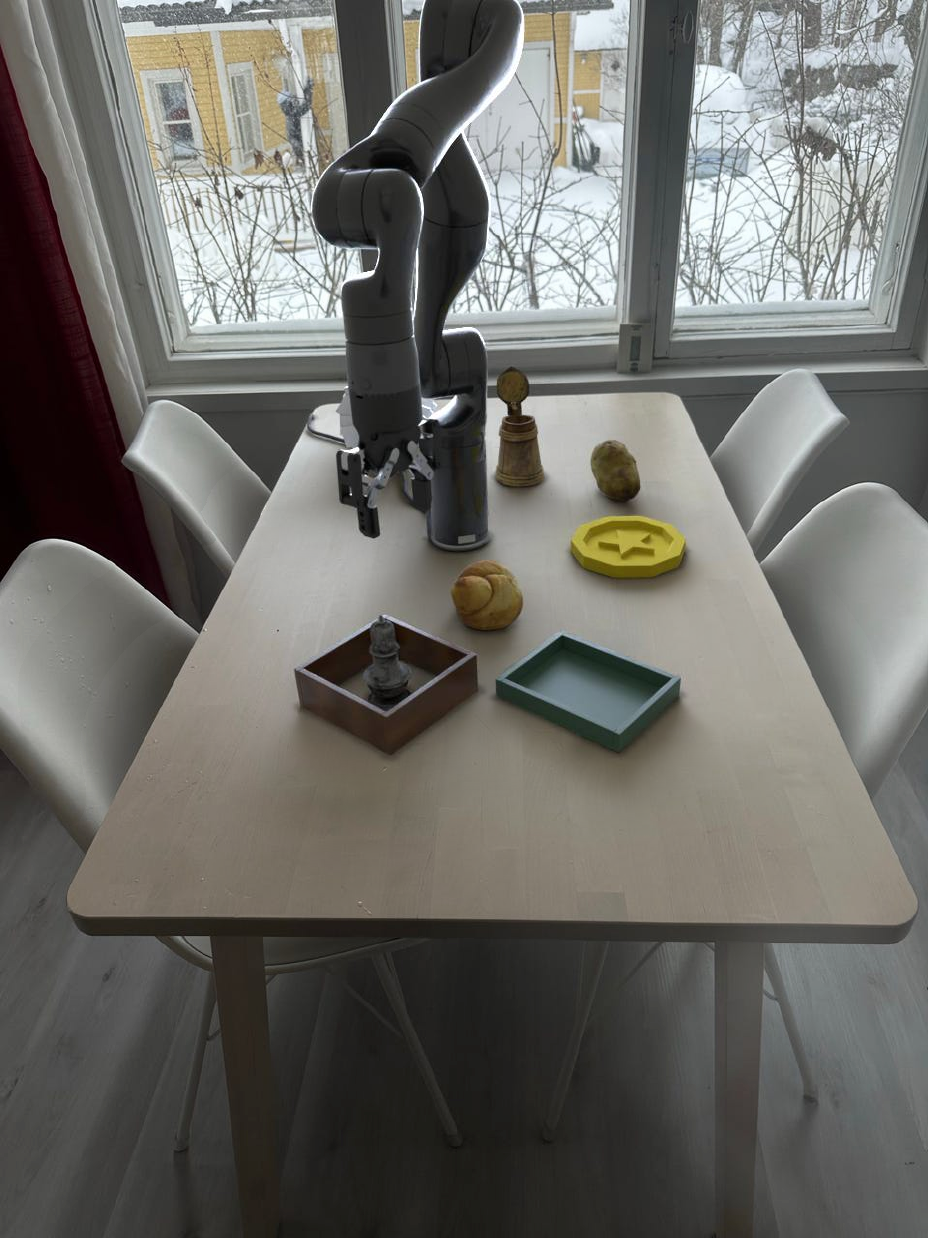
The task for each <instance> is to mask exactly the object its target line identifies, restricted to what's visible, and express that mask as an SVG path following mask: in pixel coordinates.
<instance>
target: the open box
mask: <svg viewBox="0 0 928 1238" xmlns="http://www.w3.org/2000/svg"><path fill="white" fill-rule="evenodd" d="M382 616H383V617H384V619H383V620H388V621H390V622H391V623H392V624H393V625H394V629H395V640H396V643H398V645H399V647H400V648H399V651H398V652H397V653H398V659H399V660H401V661H404V662H406V663H407V664H408V663H409V664H410V665H413V666H415V667H417V668H420V669H421V670H424V671H426V672H427V673H429V674H431V675H434V676H435V677H434V678H433V679H431V680H430V681H429V682H427V683H426V684H424V685H422V686H421V687H420V688H418V689H417V690H416V691H414V692H413V693H410V694H411V695H410V696H408V697H407V698H406V699H404V700H403V701H401V702H400V703H398V704H397V705H396V706H394V707H393V708H391V709H390V710H388V711H384V710H382V709H380V708H378V707H376V706H374V705H372V704H370V703H369V701H368V700H364V699H362V698H361V697H359V696H357V695H355V694H353V693H351V692H349V691H347V690H346V689H343V688H342V687H340V685H342V684H344V683H345V682H346V681H348V680H350V679H352V678H353V677H355V676H356V675H358V674H359V673H361V672H363V671H365V670H366V669H367V668H369V667H370V666H371V665H373V657H372V654H371V653H370V652H369V648H370V646H371V645H372V643H371V634H370V627H371V625H372V624H373V623H374V622H375V621H377V620H379V619H378V618H376V619H375V620H373V621H371V622H370V623H368V624H366V625H365V626H363V627H361V628H360V629H358V630H356V631H355V632H352V633H351V634H350V635H348V636H346V637H345V638H343V639H341V640H339V641H338V642H337V643H334V644H333V645H332V646H330V647H328V648H326V649H324V650H322V651H321V652H320V653H318V654H316V655H314V656H313V657H311V658H309V659H308V660H306V661H305V662H303V663H301V664H300V665H298V666H296V667H295V668H293V672H294V673H293V674H294V678H295V683H296V690H297V695H298V696H297V697H298V702H299V706H300V707H302V708H303V709H305V710H307V711H309V712H311V713H313V714H315V715H317V716H318V717H320V718H322V719H324V720H325V721H327V722H329V723H331V724H333V725H335V726H336V727H338V728H340V729H341V730H344V731H345V732H347V733H349V734H351V735H353V736H354V737H356V738H358V739H359V740H361V741H363V742H365V743H366V744H369V745H371V746H372V747H374V748H376V749H378V750H379V751H381V752H383V753H385V754H387V755H388V756H390V757H391V756H393V755H394V754H395V753H397V752H398V751H400V750H401V749H402V748H403V747H405V746H406V745H408V744H409V743H410V742H412V741H413V740H414V739H416V738H417V737H418V736H420V735H422V733H424V732H425V731H426V730H428V729H429V728H431V727H432V726H433V725H434V724H436V723H438V722H439V721H440V720H441V719H443V718H444V717H445V716H447V715H448V714H449V713H450V712H452V711H453V710H455V709H456V708H457V707H459V706H461V704H463V703H464V702H465V701H467V700H468V699H469V698H471V697H472V696H473V695H475V694H476V693H477V692H479V673H478V653H476V652H473V651H470V650H468V649H466V648H463V647H461V646H460V645H457V644H455V643H452V642H450V641H447V640H445V639H443V638H441V637H439V636H437V635H434V634H432V633H429V632H427V631H425V630H422V629H421V628H417V627H415V626H414V625H411V624H410V623H409V624H408V623H406V622H404V621H403V620H400V619H398V618H396V617H392V616H390V615H388V614H383V615H382Z"/></svg>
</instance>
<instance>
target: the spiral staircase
mask: <svg viewBox="0 0 928 1238" xmlns="http://www.w3.org/2000/svg"><path fill="white" fill-rule="evenodd" d="M343 391H344V394H343V395H342V398H343V399H342V400H341V401H340V403H339V404H338V406H337V408H336V410H335V412H336V413H337V414H339V435H340V436H342V439H344V441H345V443H344V444H345V446H346V448H351V449H355V448H357V446H358V442H359V434H358V432H357V430H356V428H355V427H354V425H353V423H352V414H351V406H350V397H349V388H348V385H347V386H345V387H343ZM421 399H422V413H423V417H428V418H429V417H430V416H432V415H433V414H435V412H434V410H435V409H436V408H437V407H438V405H437V403H436V402H435V399H425V398H422V397H421ZM417 446H418V447H419V443H418V445H417Z"/></svg>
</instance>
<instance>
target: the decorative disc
mask: <svg viewBox="0 0 928 1238" xmlns="http://www.w3.org/2000/svg"><path fill="white" fill-rule="evenodd" d="M686 545H687V538H686V537H685V536H684V535H682V534H681V532H679V531H678V529H676V528H675V527H674V525H673V524H671V523H668V522H664V521H661V520H657V519H654V518H650V517H647V516H642V515H609V516H607V515H606V516H603V517H601V518H598V519H595V520H592V521H589V522H586V523H584V524H583V523H582V524H580V525H579V527H578V528H577V530H576V532H575V533H574V535H573V536H572V538H571V540H570V552H571V554H572V555H573V557H574V558H575V559H576V560H577V562H578V563H579V564H580V566H581V567H582V568H583V569H587V570H590V571H593V572H596V573H599V574H601V575H605V576H608V577H611V578H614V579H615V578H616V579H617V578H619V579H620V578H654V577H655V576H659V575H661V574H664V573H666V572H669V571H671V570H674V569H677V568H679V566H680V565H681V562H682V559H683V557H684V554H685V552H686Z"/></svg>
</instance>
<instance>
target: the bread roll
mask: <svg viewBox="0 0 928 1238" xmlns="http://www.w3.org/2000/svg"><path fill="white" fill-rule="evenodd" d="M450 596H451V600H452V603H453V605H454V607H455V611H456V614H457V617H458V618H459V620H461V622H462V623H463V624H464V625H465V626H468V627H470V628H473V629H475V630H478V631H479V630H480V631H482V630H483V631H491V630H499V629H503V628H505V627H508V626H510V625H511V624H513V623H514V621H515V620H516V619H518V618H519V616H520V615H521V613H522V610H523V608H524V607H523V606H524V597H523V594H522V590H521V589H520V587H519V585H518V582H517V580H516V577H515V575H514V574H513V573H512V571H511V570H510V569H509V568H508V567H507V566H504V565H502V563H499V562H498V561H496V560H491V559H490V560H481V561H476V562H473V563H470V564H468V565H467V566H465V568H464V569H463V570H461V572H460V573H459V575H458V576H457V578H456V580H455V581H454V583H453V584H452V586H451V588H450Z"/></svg>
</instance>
